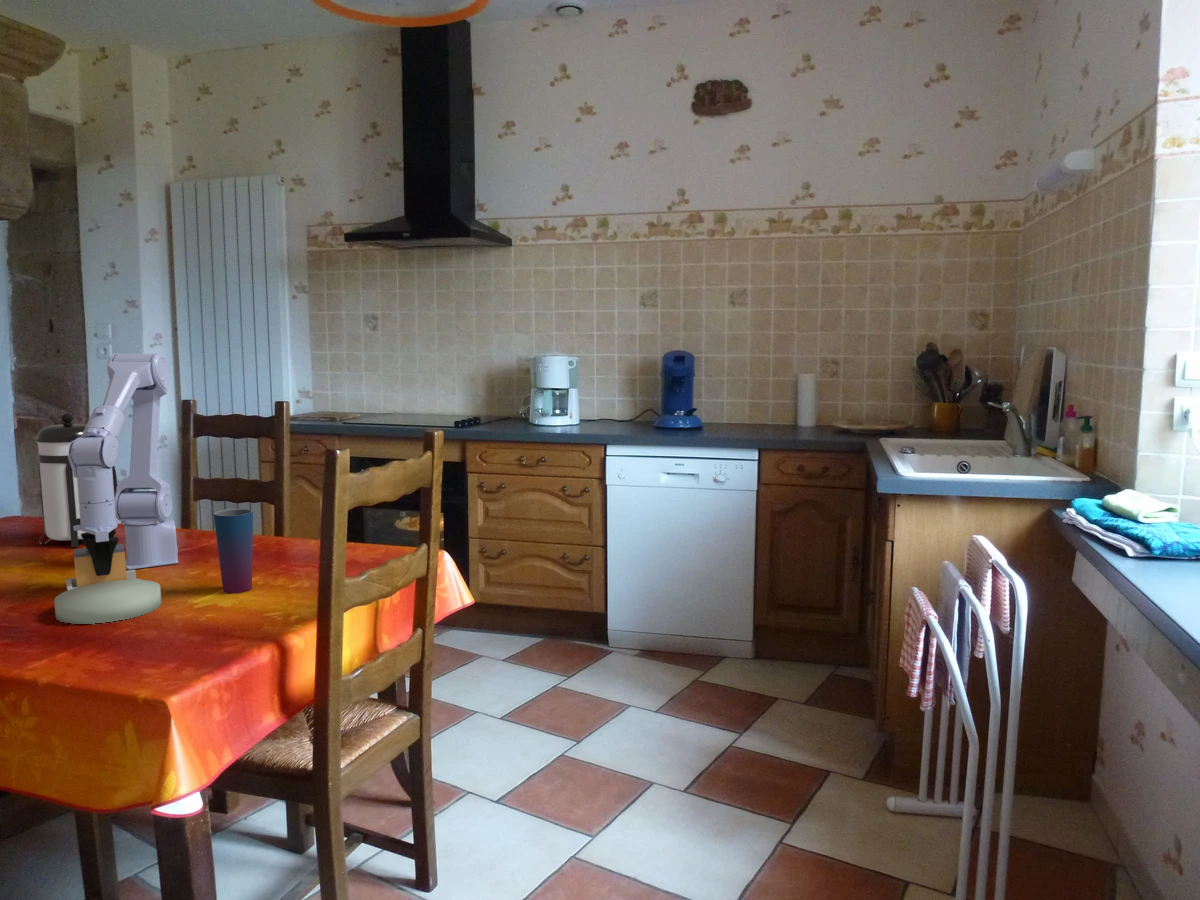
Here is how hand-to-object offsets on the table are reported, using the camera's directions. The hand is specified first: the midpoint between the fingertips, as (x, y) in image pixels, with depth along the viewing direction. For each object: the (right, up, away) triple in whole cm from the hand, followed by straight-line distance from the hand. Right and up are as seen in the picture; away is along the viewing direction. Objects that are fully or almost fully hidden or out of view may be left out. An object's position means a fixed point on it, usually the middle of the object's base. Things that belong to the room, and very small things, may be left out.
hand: (102, 571), depth 158 cm
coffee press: (-27, +1, +38) cm, 46 cm away
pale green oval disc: (+5, -4, -7) cm, 10 cm away
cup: (+25, -4, +1) cm, 26 cm away
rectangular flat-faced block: (0, -2, 0) cm, 2 cm away
